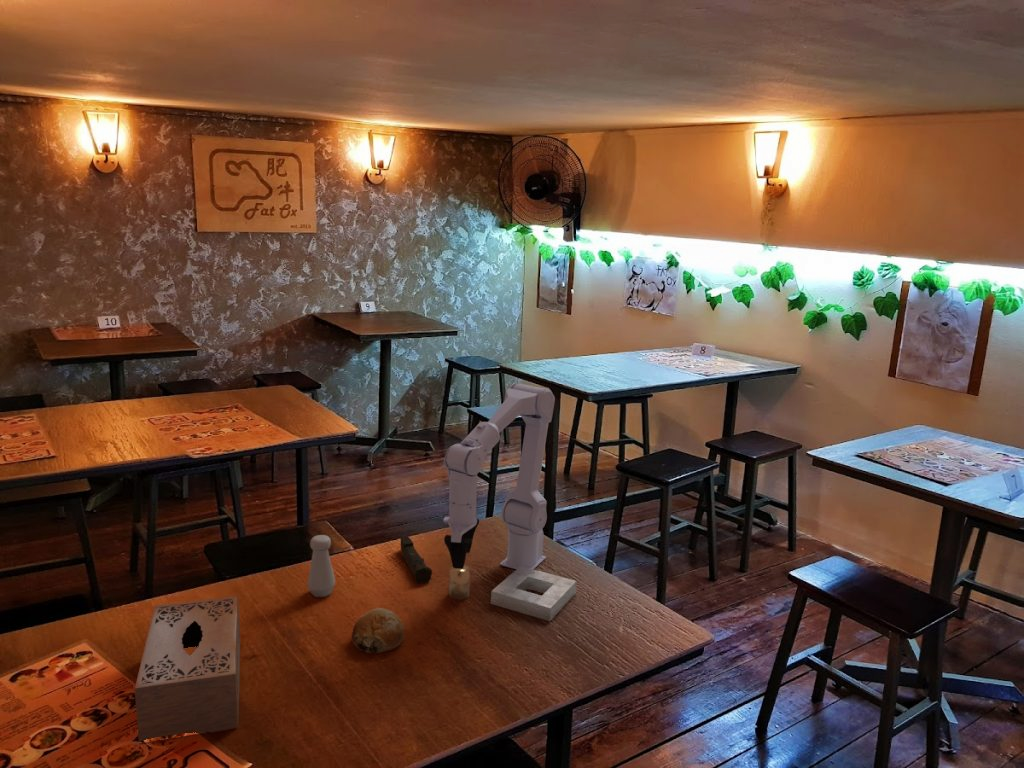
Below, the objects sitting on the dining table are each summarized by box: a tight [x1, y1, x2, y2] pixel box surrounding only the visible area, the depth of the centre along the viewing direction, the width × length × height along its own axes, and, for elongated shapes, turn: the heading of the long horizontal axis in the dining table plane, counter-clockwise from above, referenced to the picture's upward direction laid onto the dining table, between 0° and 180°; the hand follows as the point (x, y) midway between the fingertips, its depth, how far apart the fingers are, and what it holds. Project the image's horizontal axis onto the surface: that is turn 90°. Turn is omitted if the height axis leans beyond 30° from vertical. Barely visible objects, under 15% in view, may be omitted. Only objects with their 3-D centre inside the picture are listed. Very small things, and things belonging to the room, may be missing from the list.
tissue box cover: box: [134, 595, 241, 742], centre depth 130 cm, size 26×14×10 cm, turn 19°
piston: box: [448, 564, 471, 600], centre depth 166 cm, size 4×4×6 cm
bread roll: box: [351, 606, 405, 654], centre depth 147 cm, size 10×10×8 cm
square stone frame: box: [490, 566, 577, 622], centre depth 166 cm, size 14×14×3 cm
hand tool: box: [400, 534, 433, 585], centre depth 179 cm, size 19×4×5 cm, turn 20°
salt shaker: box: [307, 534, 336, 598], centre depth 163 cm, size 6×6×13 cm
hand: (461, 559), depth 162 cm, fingers open, 7 cm apart
